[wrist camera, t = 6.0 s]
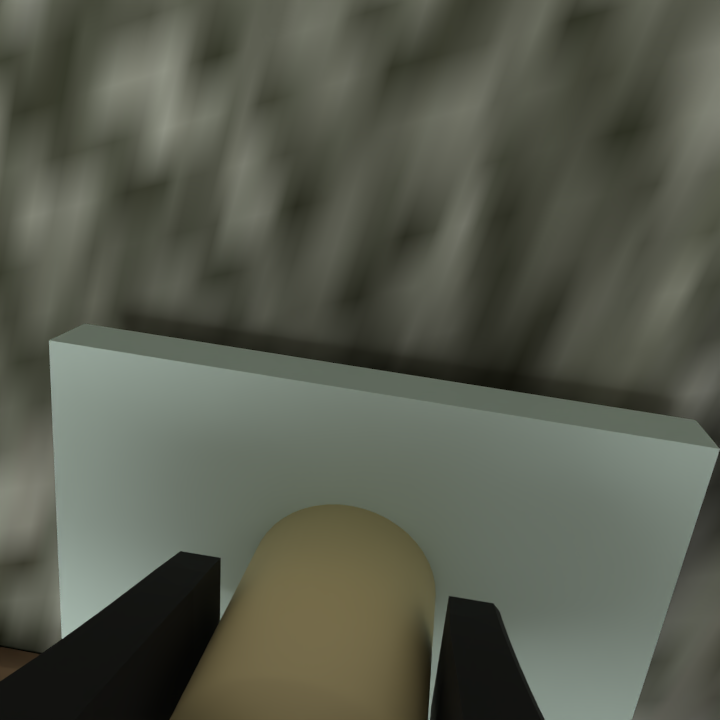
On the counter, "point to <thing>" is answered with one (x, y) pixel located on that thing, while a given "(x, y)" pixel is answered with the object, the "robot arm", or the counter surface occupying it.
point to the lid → (368, 522)
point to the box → (13, 660)
